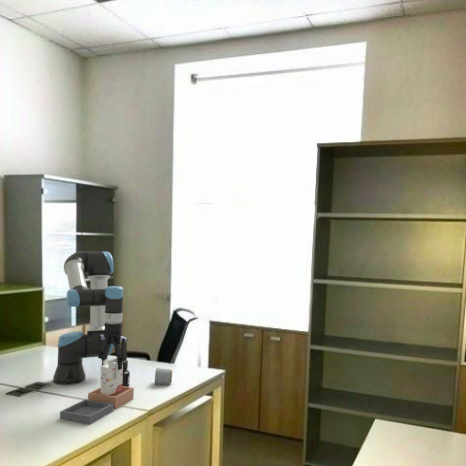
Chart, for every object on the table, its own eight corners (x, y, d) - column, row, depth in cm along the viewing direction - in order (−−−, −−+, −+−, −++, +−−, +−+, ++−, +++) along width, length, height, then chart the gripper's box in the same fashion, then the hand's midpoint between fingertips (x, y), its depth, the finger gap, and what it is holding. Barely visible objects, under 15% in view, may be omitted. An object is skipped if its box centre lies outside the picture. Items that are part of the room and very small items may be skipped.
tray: (59, 419, 174) (60, 411, 174) (84, 406, 188) (85, 399, 188) (89, 424, 169) (90, 416, 169) (113, 411, 183) (113, 403, 184)
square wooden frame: (87, 405, 190) (88, 393, 190) (107, 395, 202) (107, 383, 203) (115, 409, 185) (115, 397, 185) (133, 399, 198) (133, 387, 198)
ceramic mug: (171, 386, 217) (171, 370, 218) (154, 386, 217) (154, 370, 217) (172, 380, 228) (172, 364, 228) (156, 380, 227) (156, 364, 227)
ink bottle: (133, 386, 216) (134, 361, 216) (117, 390, 209) (118, 364, 209) (122, 382, 222) (122, 357, 223) (106, 385, 216) (107, 360, 216)
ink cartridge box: (114, 388, 199) (115, 354, 199) (122, 390, 197) (123, 356, 197) (99, 393, 192) (100, 358, 192) (107, 395, 189) (108, 360, 190)
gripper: (89, 321, 194) (88, 375, 194) (126, 325, 188) (125, 381, 188) (100, 319, 201) (99, 371, 201) (136, 322, 195) (135, 376, 195)
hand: (111, 375), depth 194 cm, fingers closed on ink cartridge box, 6 cm apart
